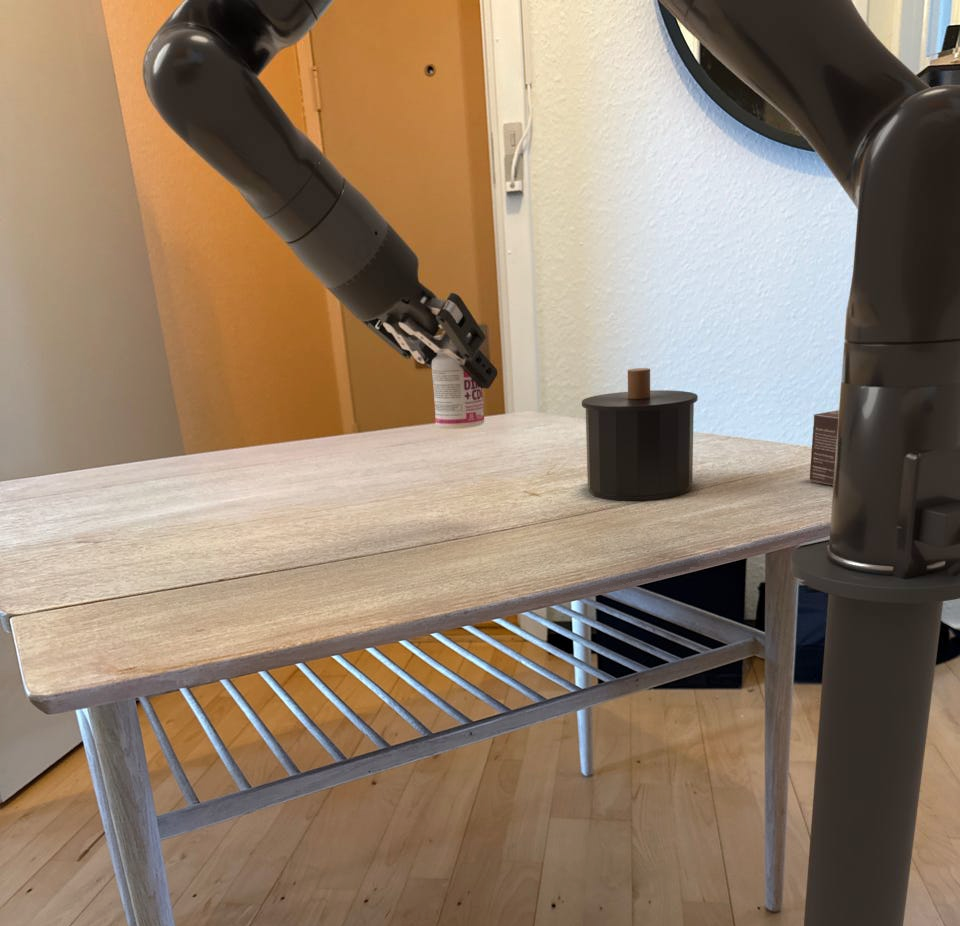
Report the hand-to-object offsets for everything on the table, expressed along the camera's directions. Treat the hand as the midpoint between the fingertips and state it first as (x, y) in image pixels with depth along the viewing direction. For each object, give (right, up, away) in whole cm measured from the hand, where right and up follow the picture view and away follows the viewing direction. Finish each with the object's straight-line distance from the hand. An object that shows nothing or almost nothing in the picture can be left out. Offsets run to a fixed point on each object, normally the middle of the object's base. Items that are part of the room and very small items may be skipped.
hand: (472, 379), depth 89 cm
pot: (+19, -8, +14) cm, 25 cm away
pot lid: (+18, +1, +11) cm, 21 cm away
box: (+41, -8, +11) cm, 43 cm away
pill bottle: (-1, -5, 0) cm, 5 cm away
